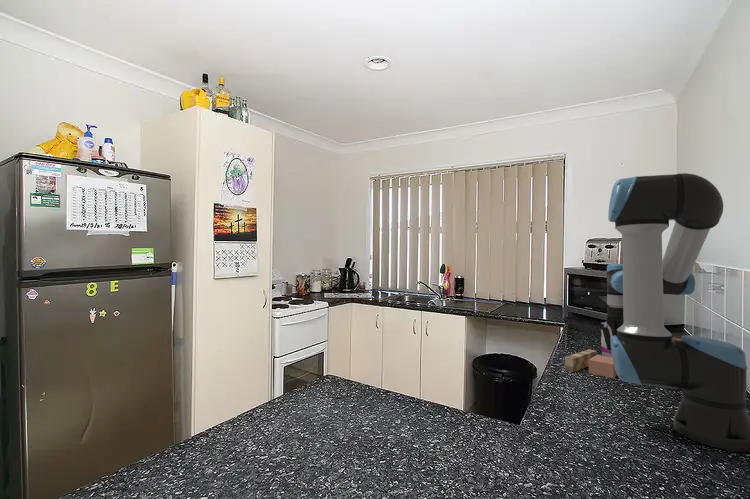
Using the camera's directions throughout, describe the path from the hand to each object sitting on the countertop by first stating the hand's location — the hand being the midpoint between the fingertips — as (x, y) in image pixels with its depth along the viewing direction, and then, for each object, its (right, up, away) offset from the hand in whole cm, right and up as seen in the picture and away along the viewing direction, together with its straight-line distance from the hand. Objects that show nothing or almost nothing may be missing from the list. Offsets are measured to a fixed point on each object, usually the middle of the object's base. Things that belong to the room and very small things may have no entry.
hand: (619, 371), depth 135 cm
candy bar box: (+7, -2, +12) cm, 14 cm away
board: (-8, -2, +11) cm, 14 cm away
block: (-3, -2, +4) cm, 5 cm away
